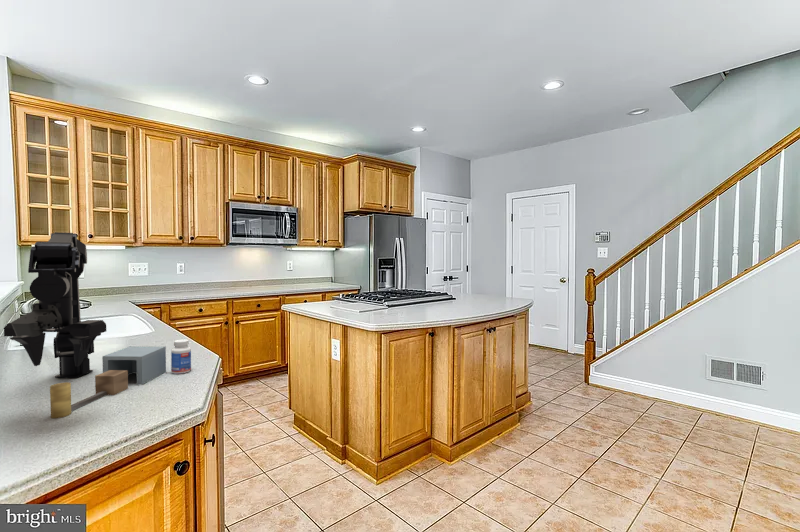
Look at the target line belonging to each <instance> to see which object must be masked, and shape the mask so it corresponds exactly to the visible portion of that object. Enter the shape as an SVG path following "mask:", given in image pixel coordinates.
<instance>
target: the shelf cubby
mask: <svg viewBox="0 0 800 532" xmlns="http://www.w3.org/2000/svg"><path fill="white" fill-rule="evenodd" d="M166 349H167V347H166V345H165V346H160V345H159V346H156V345H155V346H148V345H146V346H143V345H142V346H141V345H139V346H137V345H136V346H134V345H133V346H132V345H131V346H130V345H129V346H126V347H125V348H122V349H119V350H116V351H113V352H110V353H107V354H104V355H102V359H101V360H102V373H104V372H106V371H109V370H127V371H128V376H129V375H131V374H136V386H137V385H144V384H146V383H147V382H150V381H152V380H153V379H156V378H157V377H159V376H161V375H163V374H165V373H166V372H167V352H166V351H167V350H166Z"/></svg>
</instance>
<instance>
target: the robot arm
mask: <svg viewBox="0 0 800 532" xmlns="http://www.w3.org/2000/svg"><path fill="white" fill-rule="evenodd" d="M87 251H88V250H87V245H86V244H85V243H83V241H81V240H79V239H78V237H77V233H74V232H57V231H56V232H53V233H50V238H49V239H48V241H36V242H35V244H34V246H31V247H30V252H29V259H28V260H29V261H28V270H27V272H28V274H29V273H31V274H37V277H35V278H34V279H33V280H32V281H31V283H30V285H29V293H30V294H31V297H33V298H34V299H36V300H37V301H38V302H35V303H33V304H32V307H31V308H32V309H31V311H30V312H28V313H26V314H23V315H22V316H19V317H18V318H16V319H15V320H13V321H11V322H8V323H7V324H6V325H5V326H4V327H3V337H9V340H11V341H15V342H17V343H19V344H21V346H22V347H23V349H25V351H26V353H27V356H28V357H29V359H30V361H31V362H32V364H33V366H34V367H38V366H40V365H41V364H42V363H41V362H42V360H43V353H44V347H45V339H46V333H56V336H55V337H53V353H54V354H53V356H54V359H57V358H58V361H59V362H58V363H59V365H58V366H59V367H58V368H59V374H57V375H55V376H54V378H56V379H57V378H58V379H64V378H65V379H72V378H73V379H77V378H79V377H82V376H85V375H87V374H89V373H92V372H94V371H93V370H94V369H91V368H90V367H91V366H90V365H91V364H90V363H91V362H90V361H91V360H90V358H89V355H91V354H94V353H95V340H96V339H97V337H99V336H102V333H106V332H107V323H106V321H104V320H103V319H87V320H82V319H81V304H80V302H81V301H80V300H81V299H80V287H79V286H80V284H79V278H80V276H81V275H82V274H83V273H84V270H85V265H87V263H88V252H87Z"/></svg>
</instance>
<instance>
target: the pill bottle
mask: <svg viewBox="0 0 800 532" xmlns="http://www.w3.org/2000/svg"><path fill="white" fill-rule="evenodd" d="M189 342H190V341H189V339H185V338H184V339H176V340H174V341H173V348H172V349H171V352H170V356H171V357H170V360H171V363H170V364H171V365H170V366H171V368H170V369H171V370H170V371H171V374H176V375H179V374H185V373H189V372H191V369H192V348H191V347H190V346H189Z"/></svg>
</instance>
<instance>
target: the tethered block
mask: <svg viewBox="0 0 800 532" xmlns="http://www.w3.org/2000/svg"><path fill="white" fill-rule="evenodd" d="M94 377H95V379H94V380H95V381H94V383H95V385H94V387H95V394H93V395H90V396H88V397H86V398H84V399H82V400H80V401H77V402H74V403H73V404H72V389H71V388H72V385H71V384H72V383H71V382H69V381H67V382H65V381H64V382H58V383H54V384H51V385H50V386H49V395H50V399H49V401H50V418H51V419H61V418H64V417H68V416H70V415H71V414H72V412H73V411H76V410H78V409H80V408H82V407H84V406H86V405H88V404H91V403H93V402H95V401H97V400H99V399H102V398H103V397H106V396H115V395H117V394H119V393H121V392H123V391H126V390H128V389H129V375H128V371H127V370H109V371H106V372H104V373H103V372H102V373H99V374H96V375H95V376H94Z"/></svg>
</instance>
